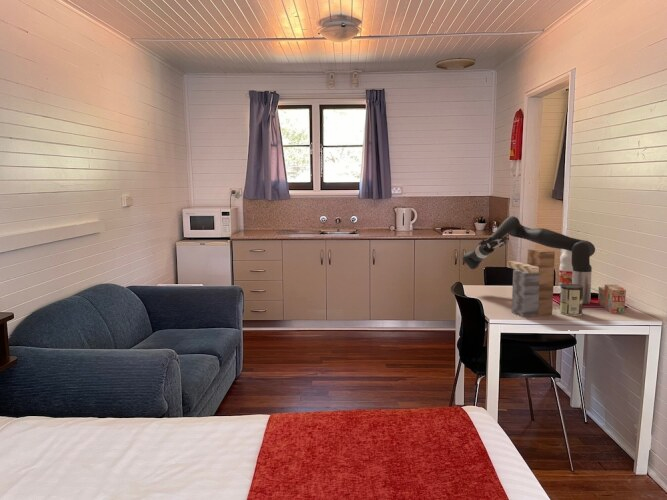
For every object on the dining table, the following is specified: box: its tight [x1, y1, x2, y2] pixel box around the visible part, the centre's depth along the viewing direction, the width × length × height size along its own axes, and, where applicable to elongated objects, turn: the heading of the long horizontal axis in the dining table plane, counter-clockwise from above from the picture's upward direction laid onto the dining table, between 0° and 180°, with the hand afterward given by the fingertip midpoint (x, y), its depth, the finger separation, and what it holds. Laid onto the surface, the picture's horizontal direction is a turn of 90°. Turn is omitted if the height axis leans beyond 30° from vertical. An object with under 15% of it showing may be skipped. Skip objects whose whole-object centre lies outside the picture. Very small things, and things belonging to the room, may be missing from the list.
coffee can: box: [559, 284, 584, 317], centre depth 256 cm, size 10×10×14 cm
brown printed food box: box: [597, 284, 627, 315], centre depth 265 cm, size 21×6×12 cm, turn 169°
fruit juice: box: [558, 249, 573, 291], centre depth 308 cm, size 9×9×28 cm
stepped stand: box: [511, 248, 556, 318], centre depth 255 cm, size 10×16×32 cm, turn 105°
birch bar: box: [506, 260, 539, 274], centre depth 256 cm, size 20×4×3 cm, turn 15°
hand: (499, 238), depth 277 cm, fingers open, 8 cm apart
